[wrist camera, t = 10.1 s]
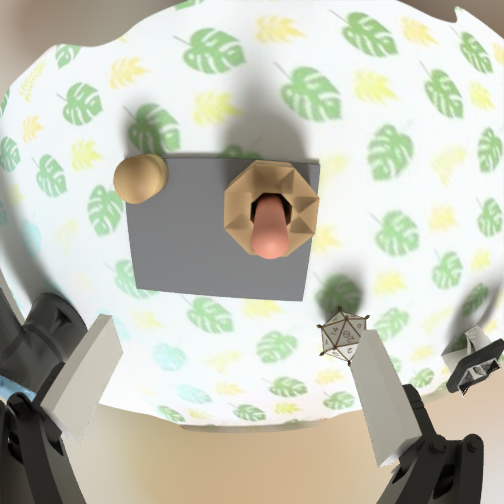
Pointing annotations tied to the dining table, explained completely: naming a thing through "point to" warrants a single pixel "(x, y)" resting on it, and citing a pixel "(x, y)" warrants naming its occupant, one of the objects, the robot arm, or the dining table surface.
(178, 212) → the mat
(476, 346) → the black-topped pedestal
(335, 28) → the dining table surface
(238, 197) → the bead
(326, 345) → the game die
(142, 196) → the loose tan rounded knob
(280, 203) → the pink rounded cylinder
